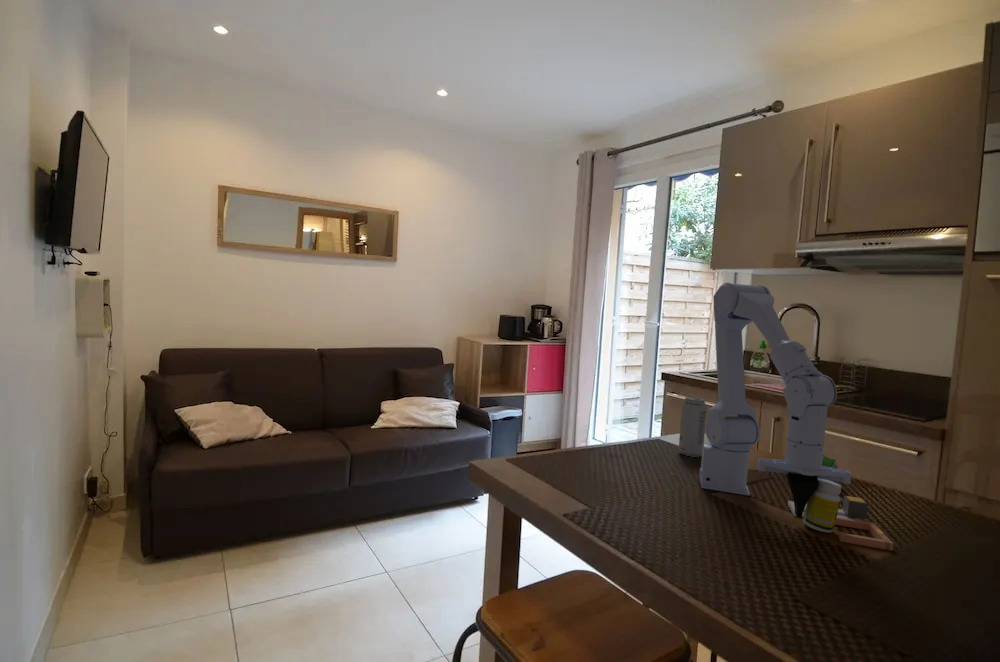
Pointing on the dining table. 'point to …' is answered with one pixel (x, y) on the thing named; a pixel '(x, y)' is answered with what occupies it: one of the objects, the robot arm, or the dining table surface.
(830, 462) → the geometric puzzle
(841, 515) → the panel
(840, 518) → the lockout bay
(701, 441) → the energy drink can
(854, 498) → the block
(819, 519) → the supplement bottle
